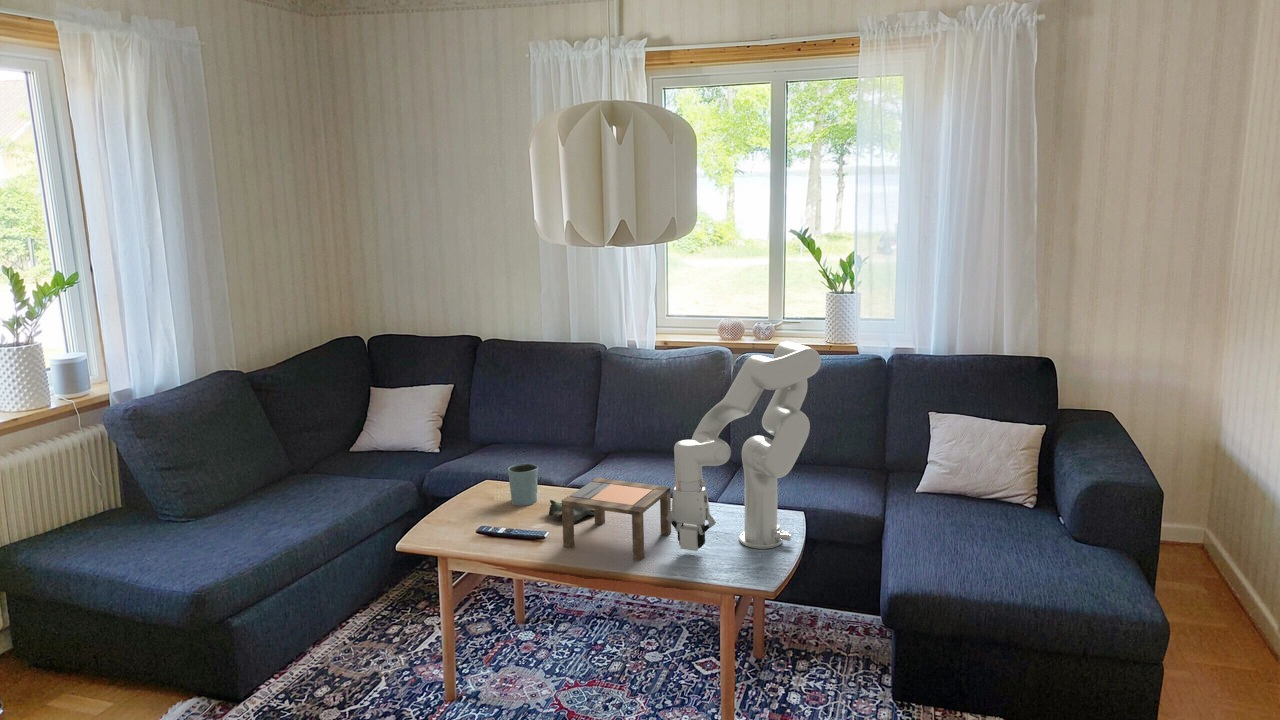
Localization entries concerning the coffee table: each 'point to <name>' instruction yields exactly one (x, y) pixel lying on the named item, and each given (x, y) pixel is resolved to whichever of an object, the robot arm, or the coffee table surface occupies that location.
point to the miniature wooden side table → (636, 512)
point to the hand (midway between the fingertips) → (691, 544)
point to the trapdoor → (610, 494)
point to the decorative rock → (577, 514)
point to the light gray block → (689, 537)
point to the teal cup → (523, 483)
